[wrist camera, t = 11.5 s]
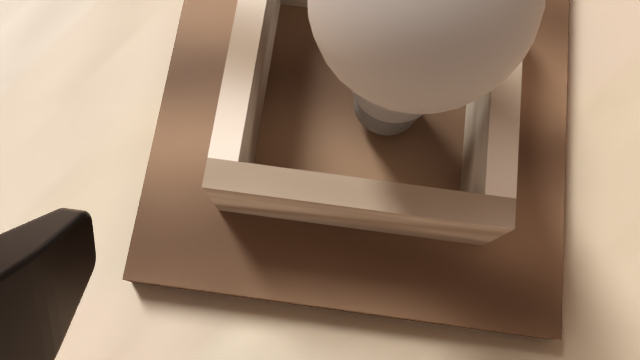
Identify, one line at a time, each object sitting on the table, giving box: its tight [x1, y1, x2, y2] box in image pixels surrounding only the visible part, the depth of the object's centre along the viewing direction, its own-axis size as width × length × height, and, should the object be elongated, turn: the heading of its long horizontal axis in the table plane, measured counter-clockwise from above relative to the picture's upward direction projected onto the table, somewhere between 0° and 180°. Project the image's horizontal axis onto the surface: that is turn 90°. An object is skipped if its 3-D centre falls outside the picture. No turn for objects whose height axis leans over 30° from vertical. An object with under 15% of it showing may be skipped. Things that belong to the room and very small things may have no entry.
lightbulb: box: [307, 0, 546, 136], centre depth 18 cm, size 6×6×11 cm
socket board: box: [123, 0, 569, 339], centre depth 22 cm, size 16×16×4 cm
